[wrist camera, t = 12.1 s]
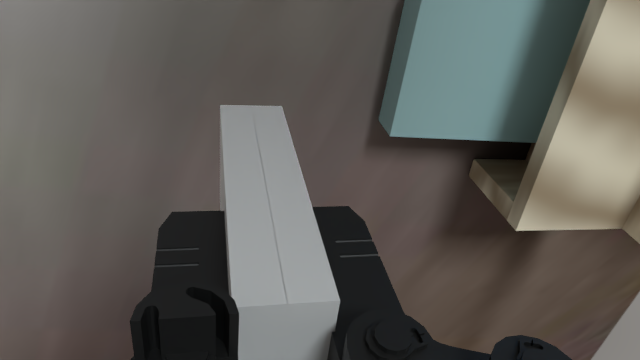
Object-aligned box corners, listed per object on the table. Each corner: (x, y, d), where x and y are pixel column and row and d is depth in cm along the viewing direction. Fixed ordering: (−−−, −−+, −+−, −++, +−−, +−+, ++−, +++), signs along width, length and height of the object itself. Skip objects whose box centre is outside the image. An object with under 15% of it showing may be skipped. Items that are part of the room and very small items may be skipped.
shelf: (558, -108, 30) (734, -93, 20) (690, -87, 32) (907, -64, 22) (468, 175, 40) (557, 279, 30) (574, 176, 42) (690, 273, 32)
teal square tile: (408, -32, 31) (426, -23, 29) (574, -10, 34) (604, -1, 32) (376, 117, 36) (389, 136, 34) (524, 125, 39) (546, 143, 37)
